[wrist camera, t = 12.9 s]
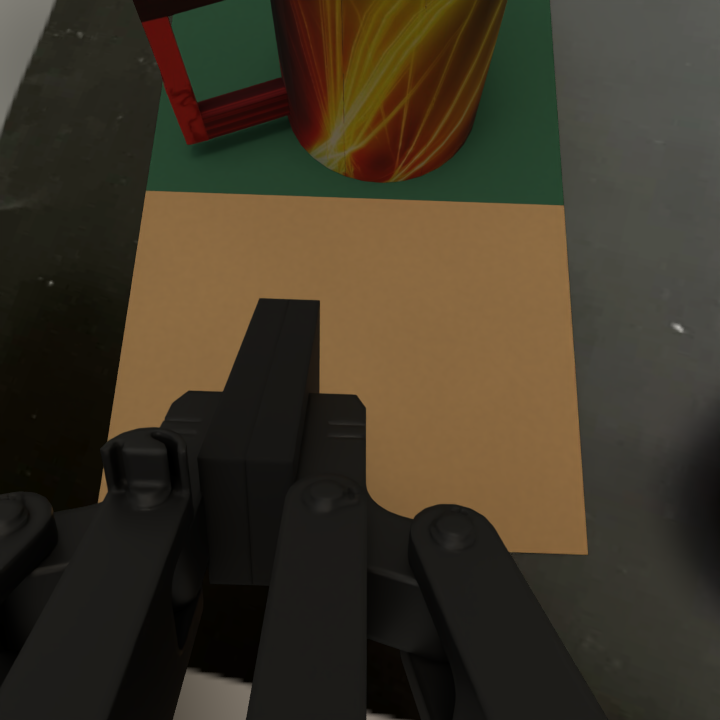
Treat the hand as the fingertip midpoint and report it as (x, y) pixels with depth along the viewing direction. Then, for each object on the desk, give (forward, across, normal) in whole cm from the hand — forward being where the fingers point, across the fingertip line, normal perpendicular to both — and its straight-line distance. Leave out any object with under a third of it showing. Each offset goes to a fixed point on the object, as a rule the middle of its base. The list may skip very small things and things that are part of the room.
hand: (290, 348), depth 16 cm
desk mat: (+16, +1, 0) cm, 16 cm away
